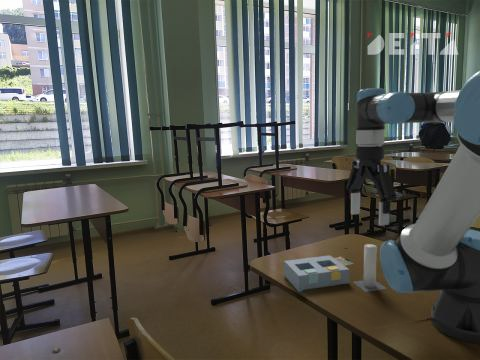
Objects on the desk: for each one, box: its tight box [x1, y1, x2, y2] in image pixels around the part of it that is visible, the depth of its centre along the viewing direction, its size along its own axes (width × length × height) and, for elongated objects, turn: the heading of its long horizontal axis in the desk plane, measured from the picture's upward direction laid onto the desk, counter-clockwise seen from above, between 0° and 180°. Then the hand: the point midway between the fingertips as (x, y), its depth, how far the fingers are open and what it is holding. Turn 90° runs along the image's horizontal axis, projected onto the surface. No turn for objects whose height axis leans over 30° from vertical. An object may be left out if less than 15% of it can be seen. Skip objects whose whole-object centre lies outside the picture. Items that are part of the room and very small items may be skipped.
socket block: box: [283, 255, 350, 293], centre depth 117 cm, size 12×16×5 cm
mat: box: [352, 279, 388, 293], centre depth 112 cm, size 7×7×1 cm
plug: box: [362, 243, 378, 288], centre depth 111 cm, size 3×3×12 cm
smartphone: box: [333, 255, 355, 267], centre depth 129 cm, size 8×15×1 cm, turn 110°
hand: (368, 219), depth 109 cm, fingers open, 13 cm apart
